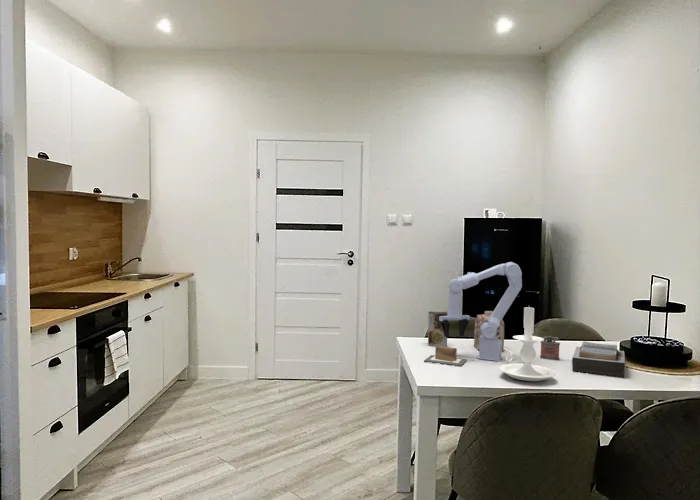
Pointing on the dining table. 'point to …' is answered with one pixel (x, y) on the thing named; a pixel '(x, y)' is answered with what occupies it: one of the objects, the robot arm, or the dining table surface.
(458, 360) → the picture frame
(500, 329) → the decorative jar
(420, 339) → the dining table surface
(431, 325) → the coffee box
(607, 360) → the bible
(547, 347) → the lighter
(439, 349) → the card box
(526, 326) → the candlestick
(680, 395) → the dining table surface
